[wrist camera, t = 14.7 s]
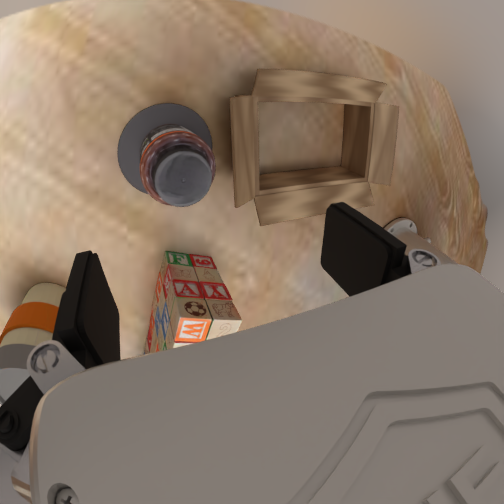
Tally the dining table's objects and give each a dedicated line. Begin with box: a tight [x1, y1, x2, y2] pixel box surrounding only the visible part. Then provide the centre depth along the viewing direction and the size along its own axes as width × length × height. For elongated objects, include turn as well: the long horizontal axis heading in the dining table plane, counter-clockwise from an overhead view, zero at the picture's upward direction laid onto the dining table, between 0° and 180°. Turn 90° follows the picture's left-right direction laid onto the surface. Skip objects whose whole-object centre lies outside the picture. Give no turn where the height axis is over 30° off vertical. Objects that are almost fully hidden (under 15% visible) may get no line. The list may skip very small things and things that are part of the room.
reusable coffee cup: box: [0, 283, 66, 405], centre depth 25 cm, size 13×13×15 cm
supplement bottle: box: [140, 124, 216, 207], centre depth 23 cm, size 6×6×11 cm
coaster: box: [118, 103, 212, 194], centre depth 27 cm, size 10×10×1 cm
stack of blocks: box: [144, 251, 242, 355], centre depth 35 cm, size 21×6×12 cm, turn 158°
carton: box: [230, 69, 399, 226], centre depth 29 cm, size 20×15×7 cm
